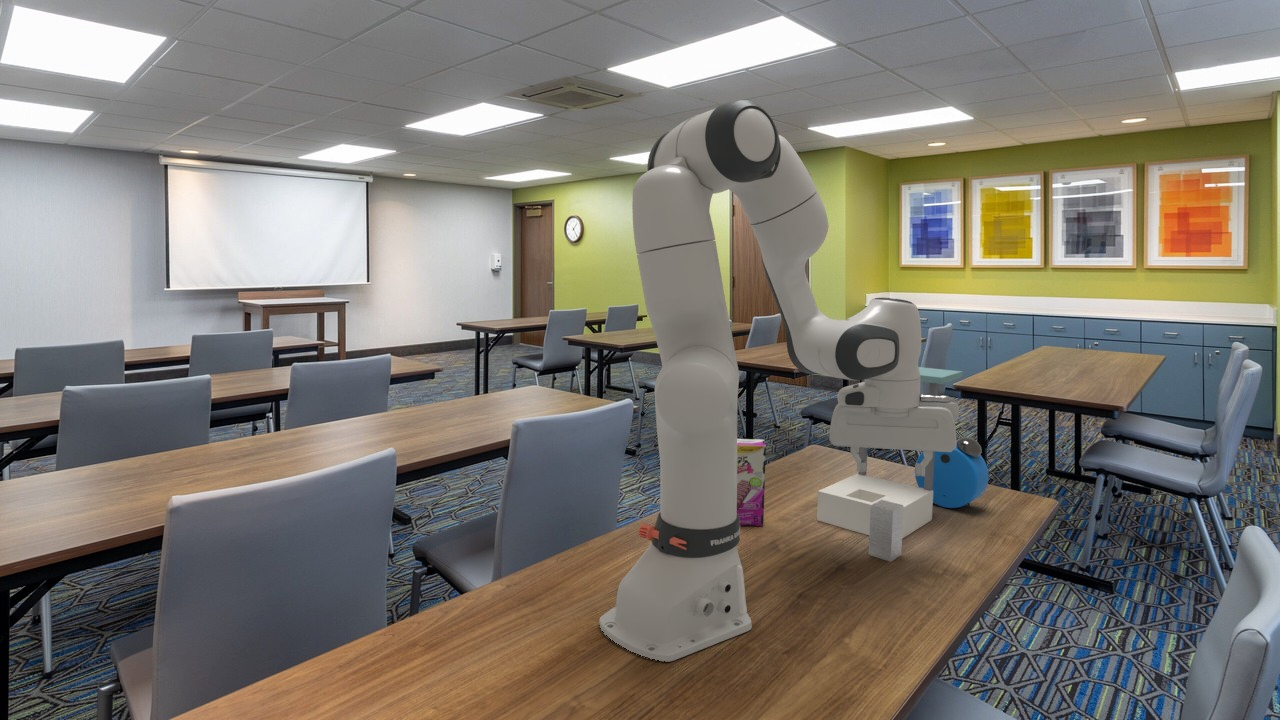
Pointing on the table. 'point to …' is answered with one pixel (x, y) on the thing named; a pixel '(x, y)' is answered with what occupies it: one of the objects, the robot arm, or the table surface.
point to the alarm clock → (957, 474)
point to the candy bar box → (751, 481)
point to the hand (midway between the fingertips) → (890, 473)
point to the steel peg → (886, 530)
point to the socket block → (882, 486)
